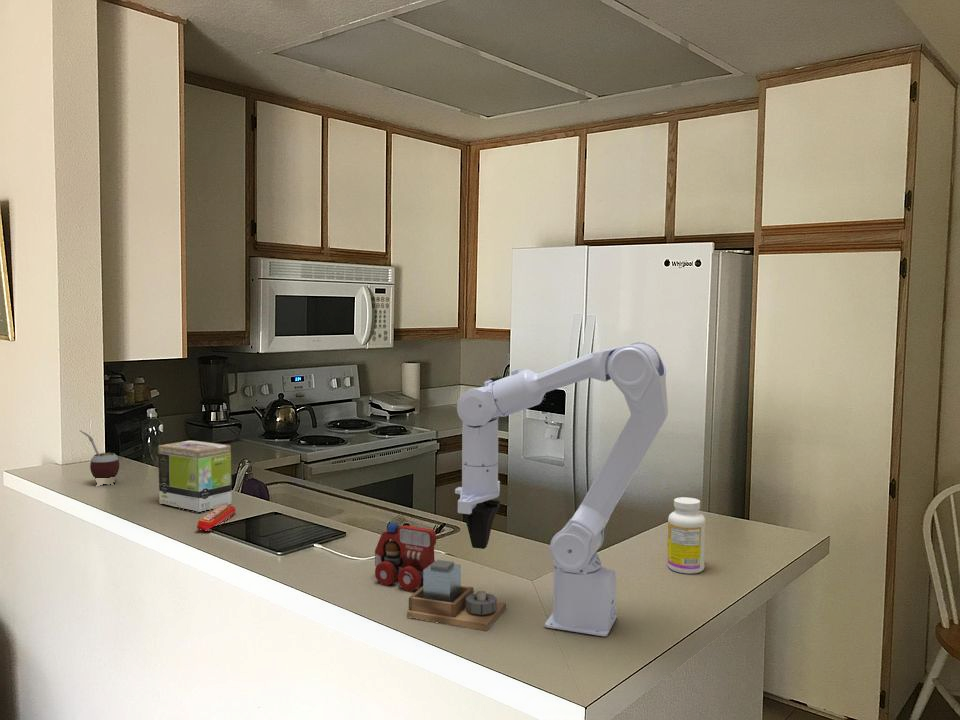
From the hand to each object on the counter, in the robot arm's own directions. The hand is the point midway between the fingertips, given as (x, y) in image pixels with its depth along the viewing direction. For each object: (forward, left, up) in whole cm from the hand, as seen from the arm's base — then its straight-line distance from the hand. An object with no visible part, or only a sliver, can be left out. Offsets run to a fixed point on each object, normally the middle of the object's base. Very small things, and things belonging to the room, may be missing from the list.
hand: (479, 547), depth 124 cm
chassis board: (+2, +4, -10) cm, 11 cm away
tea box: (+86, -34, -10) cm, 93 cm away
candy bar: (+71, -23, -10) cm, 75 cm away
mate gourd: (+123, -42, -10) cm, 131 cm away
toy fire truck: (+16, -6, -10) cm, 20 cm away
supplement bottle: (-29, -31, -10) cm, 44 cm away
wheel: (-2, +4, -9) cm, 9 cm away
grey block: (+5, +3, -9) cm, 11 cm away
